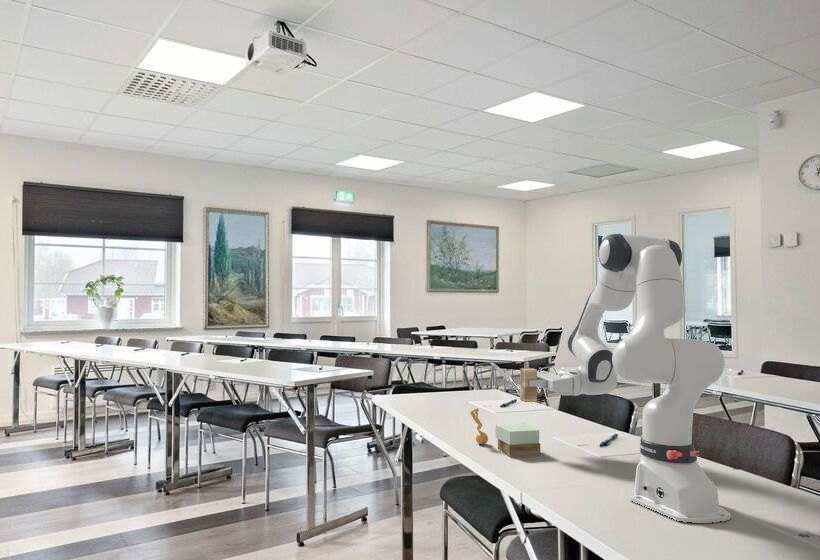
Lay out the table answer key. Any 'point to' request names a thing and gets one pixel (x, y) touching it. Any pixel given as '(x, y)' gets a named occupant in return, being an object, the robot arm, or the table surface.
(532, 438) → the pale green square slab
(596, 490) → the table surface
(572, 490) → the table surface
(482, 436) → the figurine
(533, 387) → the oak post
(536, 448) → the tower base
